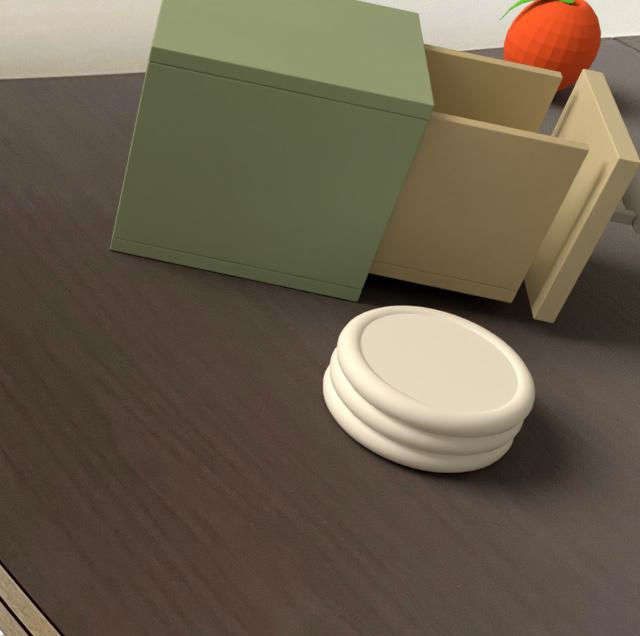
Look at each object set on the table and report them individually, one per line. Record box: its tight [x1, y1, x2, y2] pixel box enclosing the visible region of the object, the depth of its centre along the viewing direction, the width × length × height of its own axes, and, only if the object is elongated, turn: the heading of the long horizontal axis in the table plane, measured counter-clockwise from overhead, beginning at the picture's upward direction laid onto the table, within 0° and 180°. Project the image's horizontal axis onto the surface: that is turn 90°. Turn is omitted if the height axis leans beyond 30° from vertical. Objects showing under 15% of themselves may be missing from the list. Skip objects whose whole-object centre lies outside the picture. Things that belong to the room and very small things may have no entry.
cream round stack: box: [322, 305, 536, 474], centre depth 59 cm, size 10×10×4 cm
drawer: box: [368, 43, 640, 324], centre depth 67 cm, size 17×11×10 cm, turn 81°
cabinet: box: [109, 0, 434, 303], centre depth 67 cm, size 15×13×12 cm
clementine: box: [499, 0, 602, 92], centre depth 90 cm, size 8×7×7 cm
